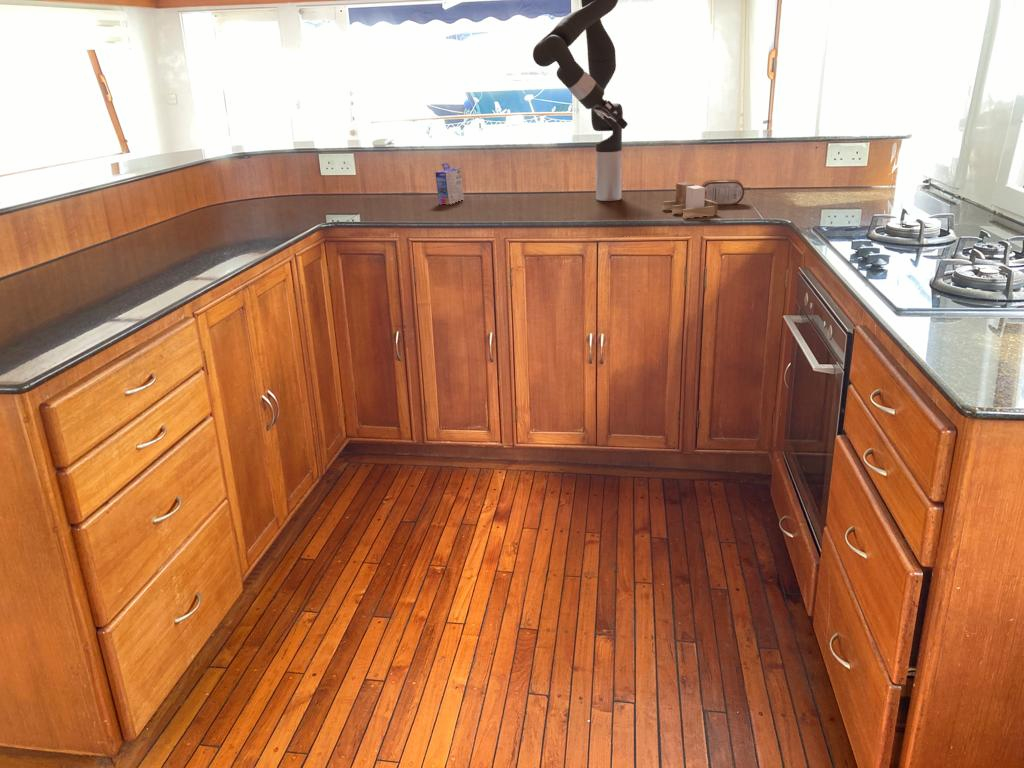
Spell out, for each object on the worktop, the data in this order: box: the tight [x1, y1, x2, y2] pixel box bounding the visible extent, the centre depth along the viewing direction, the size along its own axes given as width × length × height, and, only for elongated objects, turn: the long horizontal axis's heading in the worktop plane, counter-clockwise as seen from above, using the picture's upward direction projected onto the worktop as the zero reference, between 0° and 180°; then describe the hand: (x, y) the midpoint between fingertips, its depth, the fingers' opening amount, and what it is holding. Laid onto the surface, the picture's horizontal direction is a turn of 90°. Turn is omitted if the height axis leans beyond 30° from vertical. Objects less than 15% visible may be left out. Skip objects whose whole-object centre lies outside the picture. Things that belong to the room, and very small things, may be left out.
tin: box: [701, 179, 745, 206], centre depth 273 cm, size 15×3×8 cm, turn 84°
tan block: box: [675, 181, 695, 205], centre depth 266 cm, size 5×4×9 cm
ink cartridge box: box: [435, 162, 465, 206], centre depth 300 cm, size 10×6×14 cm, turn 148°
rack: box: [661, 199, 719, 220], centre depth 263 cm, size 15×12×4 cm
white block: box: [686, 185, 705, 209], centre depth 259 cm, size 5×4×9 cm
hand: (620, 125), depth 254 cm, fingers open, 8 cm apart
